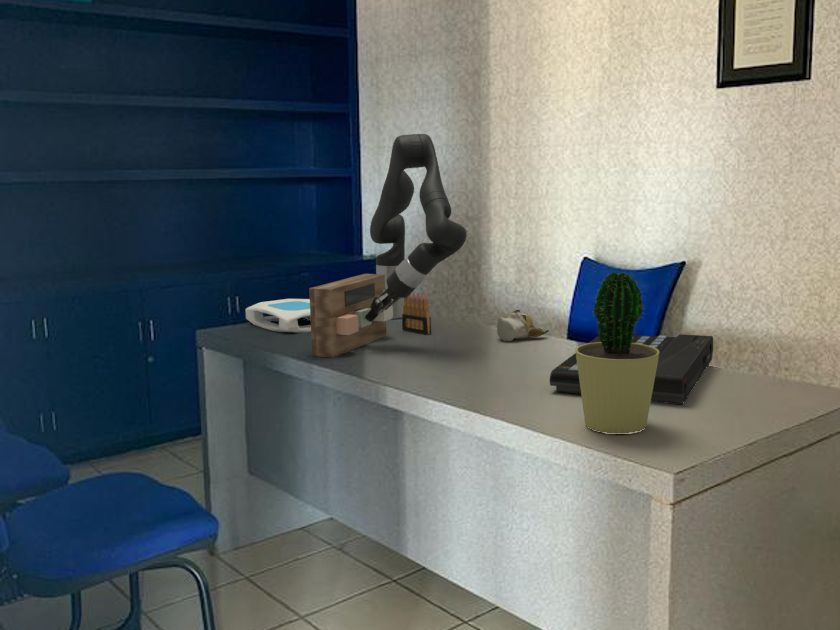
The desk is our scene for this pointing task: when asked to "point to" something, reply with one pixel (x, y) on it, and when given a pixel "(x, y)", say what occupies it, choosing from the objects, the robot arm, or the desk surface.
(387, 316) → the cream key
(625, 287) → the potted cactus
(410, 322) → the ammunition clip
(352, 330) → the terracotta key
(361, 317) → the sage key
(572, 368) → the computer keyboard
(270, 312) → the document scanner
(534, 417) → the desk surface
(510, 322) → the ceramic sculpture
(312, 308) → the keypad console
